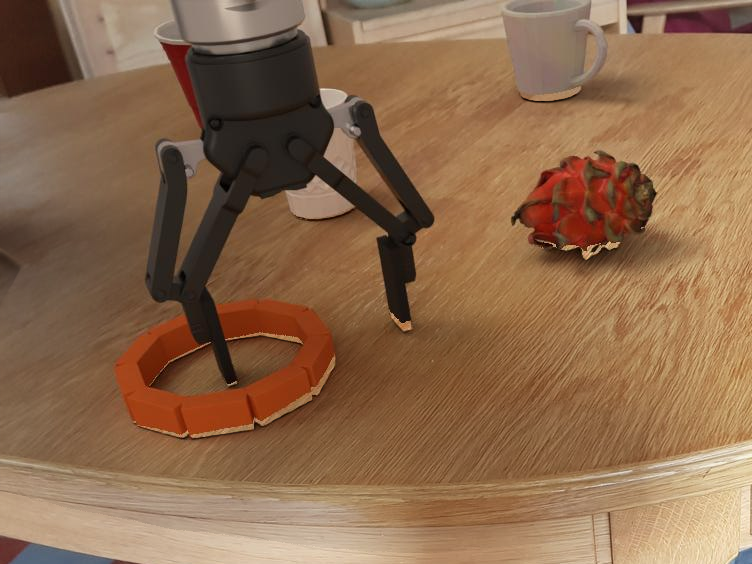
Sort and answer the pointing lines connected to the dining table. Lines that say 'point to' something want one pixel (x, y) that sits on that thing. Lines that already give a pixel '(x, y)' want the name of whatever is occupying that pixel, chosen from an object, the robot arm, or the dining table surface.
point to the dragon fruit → (587, 203)
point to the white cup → (342, 155)
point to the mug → (551, 44)
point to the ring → (229, 405)
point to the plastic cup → (178, 60)
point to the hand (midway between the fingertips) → (317, 350)
